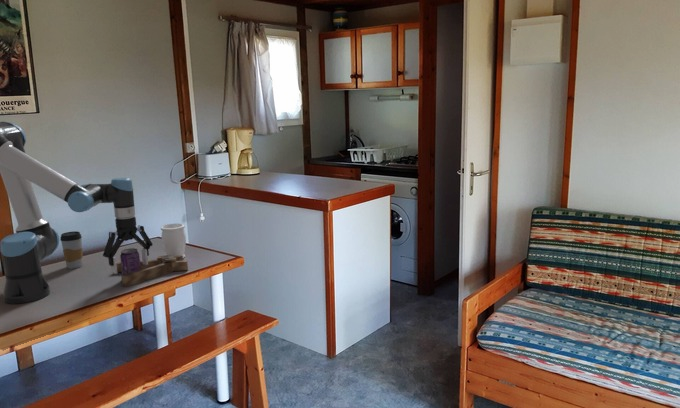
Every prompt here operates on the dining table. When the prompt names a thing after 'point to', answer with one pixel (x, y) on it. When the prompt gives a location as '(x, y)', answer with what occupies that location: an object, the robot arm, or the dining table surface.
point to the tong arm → (175, 264)
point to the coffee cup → (72, 249)
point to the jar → (174, 239)
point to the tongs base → (148, 272)
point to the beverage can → (130, 261)
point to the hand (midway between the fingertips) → (130, 268)
